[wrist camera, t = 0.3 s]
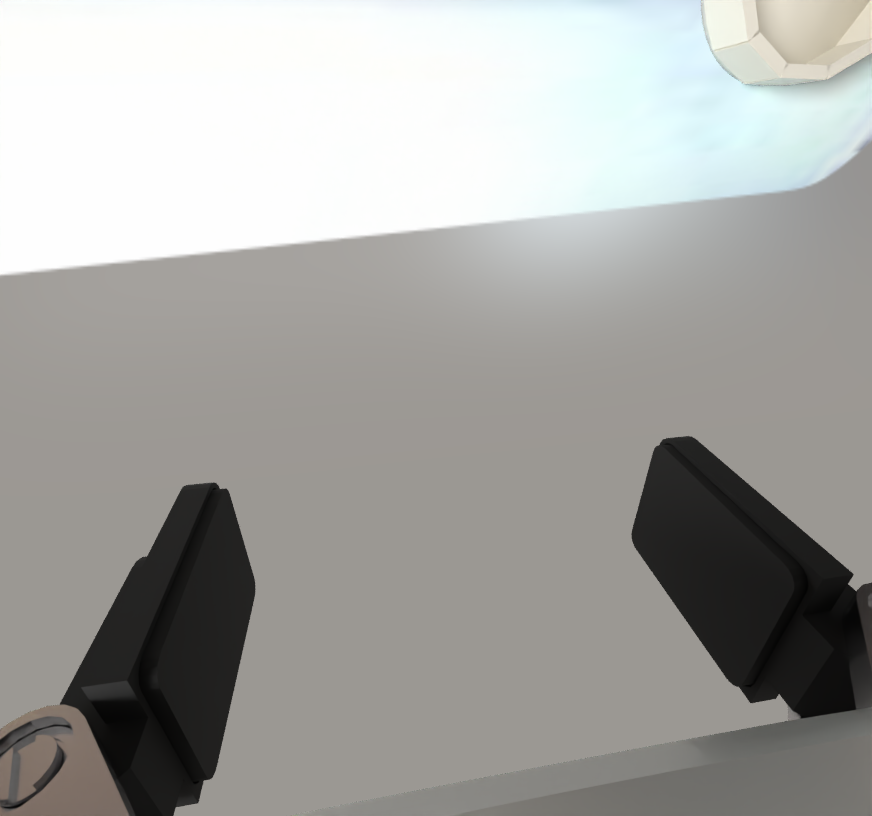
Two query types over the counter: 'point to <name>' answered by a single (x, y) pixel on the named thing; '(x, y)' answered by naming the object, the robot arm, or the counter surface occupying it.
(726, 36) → the ceramic bowl
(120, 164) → the counter surface
